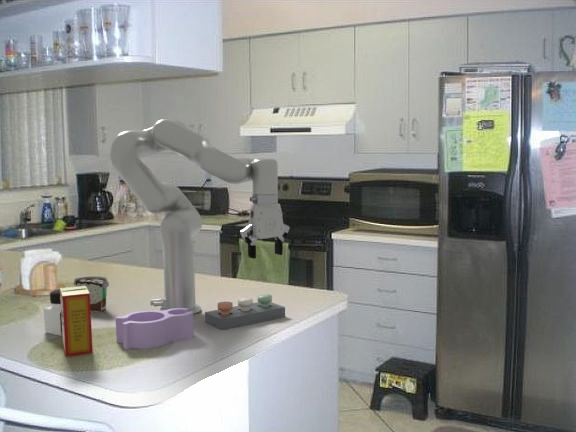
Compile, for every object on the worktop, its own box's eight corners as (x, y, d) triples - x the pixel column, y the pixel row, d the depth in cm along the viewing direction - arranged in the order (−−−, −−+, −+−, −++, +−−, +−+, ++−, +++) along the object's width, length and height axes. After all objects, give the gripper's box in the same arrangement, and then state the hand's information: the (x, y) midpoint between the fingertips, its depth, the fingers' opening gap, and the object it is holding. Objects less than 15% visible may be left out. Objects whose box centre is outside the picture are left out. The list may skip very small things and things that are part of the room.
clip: (182, 328, 190) (182, 305, 189) (199, 339, 179) (198, 315, 178) (113, 340, 180) (112, 315, 179) (127, 352, 169) (125, 326, 169)
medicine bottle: (61, 336, 183) (59, 294, 181) (44, 332, 187) (42, 291, 185) (81, 330, 189) (79, 289, 187) (65, 326, 193) (62, 286, 191)
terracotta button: (222, 321, 191) (222, 306, 190) (215, 318, 194) (214, 303, 194) (235, 318, 193) (235, 303, 193) (228, 315, 197) (227, 300, 196)
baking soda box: (92, 353, 169) (89, 291, 167) (65, 356, 166) (62, 294, 164) (88, 342, 177) (85, 284, 175) (62, 345, 175) (59, 286, 173)
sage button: (262, 313, 199) (262, 298, 198) (254, 310, 202) (254, 295, 202) (274, 310, 201) (274, 296, 201) (266, 307, 205) (266, 293, 204)
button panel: (222, 329, 188) (222, 319, 187) (205, 322, 196) (204, 312, 195) (285, 316, 200) (285, 307, 200) (266, 309, 208) (266, 300, 208)
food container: (118, 308, 212) (116, 277, 211) (105, 313, 207) (104, 281, 205) (88, 304, 217) (86, 274, 216) (75, 309, 212) (73, 278, 211)
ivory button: (243, 317, 195) (242, 302, 194) (235, 314, 198) (235, 299, 198) (255, 314, 197) (255, 300, 197) (247, 311, 201) (247, 297, 200)
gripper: (247, 202, 190) (248, 261, 192) (295, 199, 200) (295, 254, 202) (234, 200, 196) (234, 257, 198) (281, 197, 206) (281, 251, 208)
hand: (265, 256), depth 200 cm, fingers open, 9 cm apart
